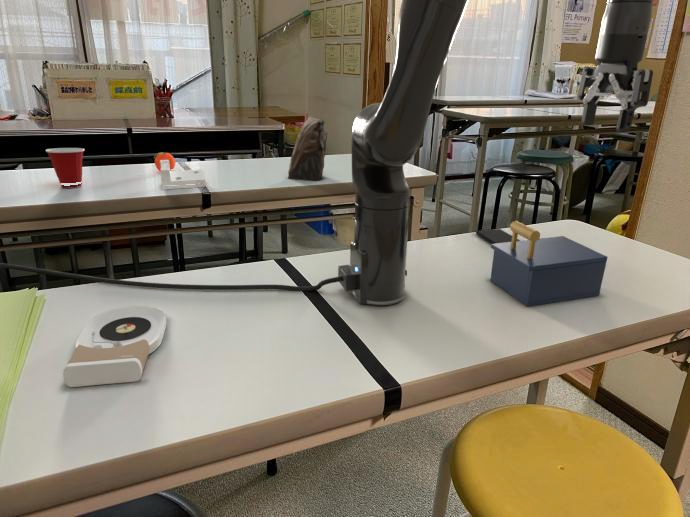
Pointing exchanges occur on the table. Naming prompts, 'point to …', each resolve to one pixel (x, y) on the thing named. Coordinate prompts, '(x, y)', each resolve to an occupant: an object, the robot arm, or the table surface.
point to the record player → (115, 346)
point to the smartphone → (495, 236)
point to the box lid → (544, 250)
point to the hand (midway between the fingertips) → (604, 127)
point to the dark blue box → (547, 281)
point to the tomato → (164, 157)
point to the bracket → (180, 177)
